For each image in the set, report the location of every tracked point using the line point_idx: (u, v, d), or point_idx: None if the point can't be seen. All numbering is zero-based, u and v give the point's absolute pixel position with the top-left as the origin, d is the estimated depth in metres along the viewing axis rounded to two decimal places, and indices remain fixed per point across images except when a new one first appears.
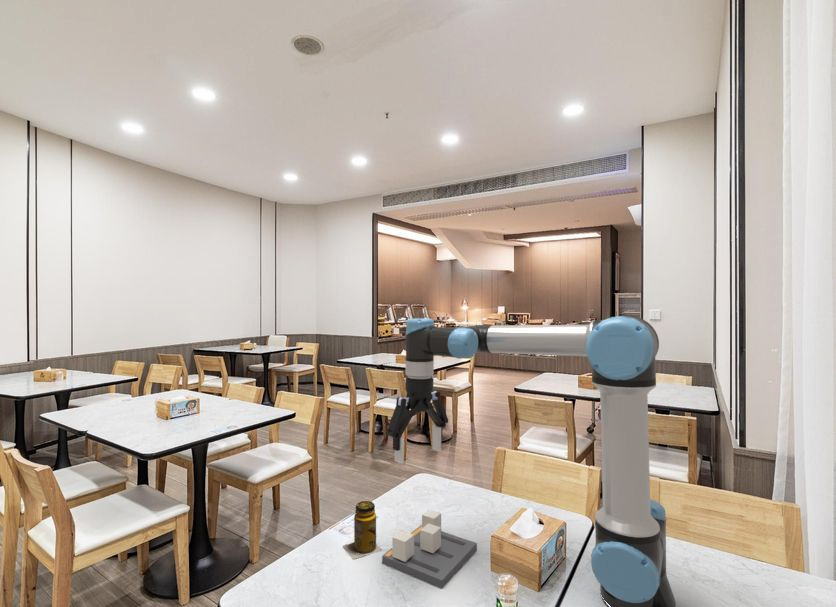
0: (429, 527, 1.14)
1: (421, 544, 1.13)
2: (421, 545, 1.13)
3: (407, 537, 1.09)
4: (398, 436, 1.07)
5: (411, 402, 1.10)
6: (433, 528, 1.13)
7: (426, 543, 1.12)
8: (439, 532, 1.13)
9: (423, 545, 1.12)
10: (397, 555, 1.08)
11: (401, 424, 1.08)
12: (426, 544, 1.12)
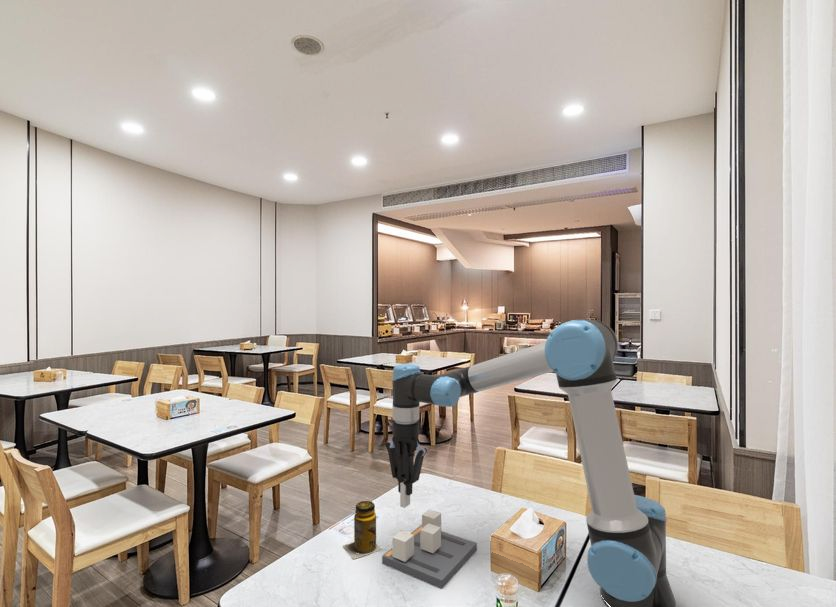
0: (429, 527, 1.14)
1: (421, 544, 1.13)
2: (421, 545, 1.13)
3: (407, 537, 1.09)
4: (398, 480, 1.18)
5: (394, 442, 1.19)
6: (433, 528, 1.13)
7: (426, 543, 1.12)
8: (439, 532, 1.13)
9: (423, 545, 1.12)
10: (397, 555, 1.08)
11: None
12: (426, 544, 1.12)
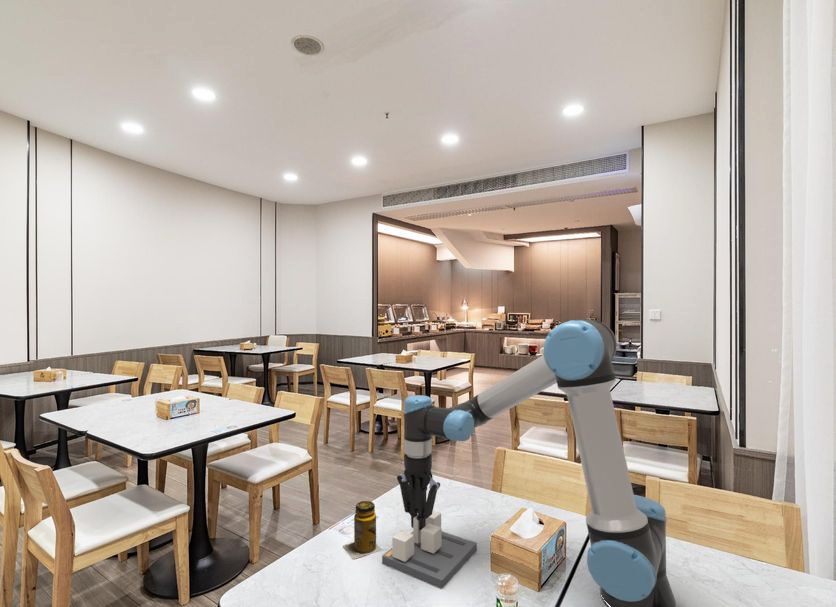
0: (430, 527, 1.14)
1: (422, 544, 1.12)
2: (422, 545, 1.12)
3: (407, 537, 1.09)
4: (411, 515, 1.15)
5: (406, 476, 1.17)
6: (434, 528, 1.13)
7: (427, 543, 1.12)
8: (440, 532, 1.13)
9: (424, 545, 1.12)
10: (397, 555, 1.08)
11: None
12: (427, 544, 1.12)
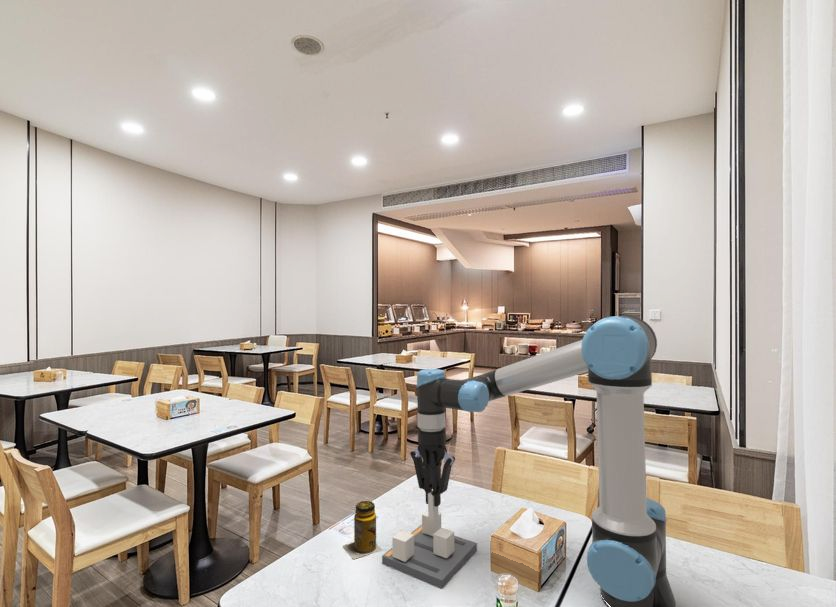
0: (442, 531, 1.12)
1: (434, 549, 1.10)
2: (434, 550, 1.10)
3: (407, 537, 1.09)
4: (425, 491, 1.13)
5: (419, 451, 1.14)
6: (446, 532, 1.11)
7: (440, 548, 1.09)
8: (452, 537, 1.11)
9: (436, 550, 1.10)
10: (397, 555, 1.08)
11: None
12: (439, 549, 1.09)
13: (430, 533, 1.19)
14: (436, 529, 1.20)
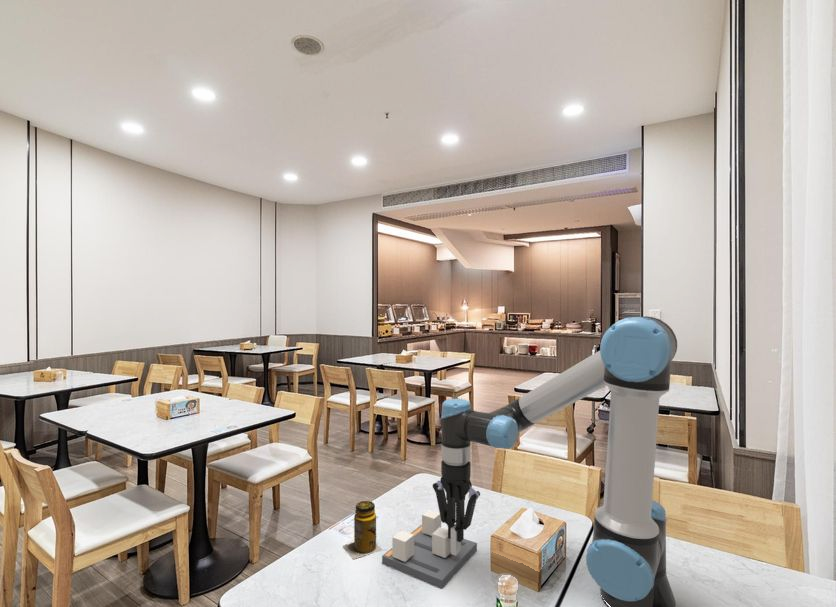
0: (441, 531, 1.12)
1: (433, 548, 1.11)
2: (433, 549, 1.11)
3: (407, 537, 1.09)
4: (448, 525, 1.09)
5: (443, 484, 1.10)
6: (445, 532, 1.11)
7: (438, 547, 1.10)
8: None
9: (435, 549, 1.10)
10: (397, 555, 1.08)
11: None
12: (438, 548, 1.10)
13: (430, 533, 1.19)
14: (436, 529, 1.20)
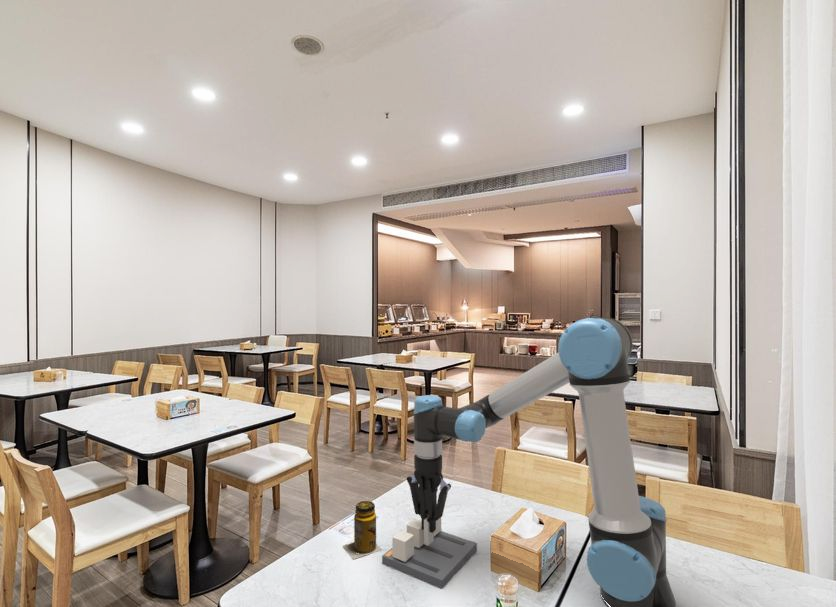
0: (415, 522, 1.16)
1: None
2: None
3: (407, 537, 1.09)
4: (421, 517, 1.14)
5: (416, 477, 1.15)
6: (419, 523, 1.16)
7: None
8: None
9: None
10: (397, 555, 1.08)
11: None
12: None
13: None
14: (436, 529, 1.20)
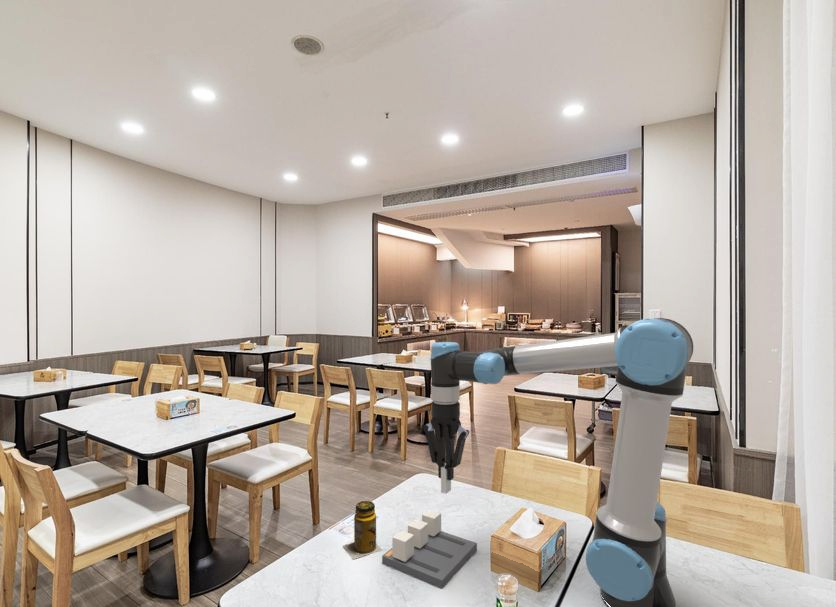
0: (416, 523, 1.16)
1: None
2: None
3: (407, 537, 1.09)
4: (438, 465, 1.11)
5: (433, 425, 1.12)
6: (420, 524, 1.16)
7: None
8: (426, 528, 1.15)
9: None
10: (397, 555, 1.08)
11: None
12: None
13: (430, 533, 1.19)
14: (436, 529, 1.20)
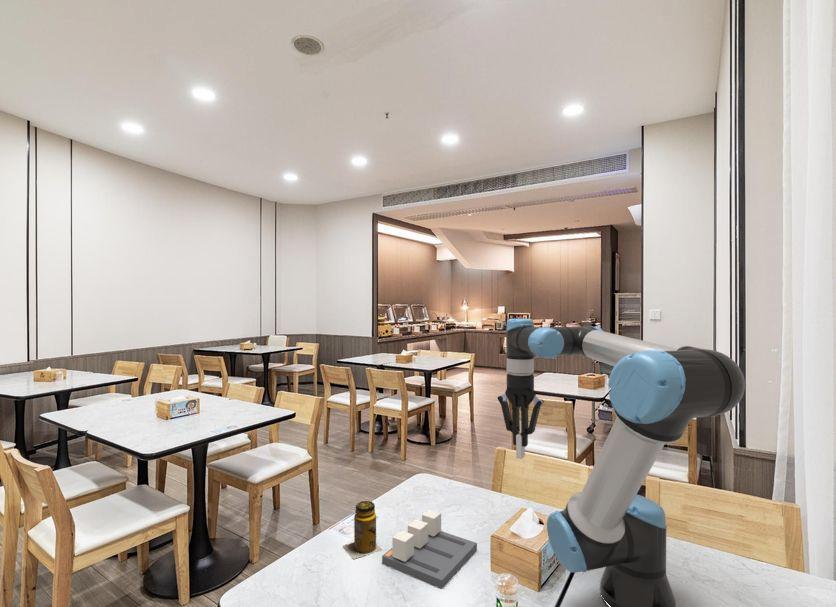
0: (416, 523, 1.16)
1: None
2: None
3: (407, 537, 1.09)
4: (513, 432, 1.19)
5: (508, 395, 1.20)
6: (420, 524, 1.16)
7: None
8: (426, 528, 1.15)
9: None
10: (397, 555, 1.08)
11: None
12: None
13: (430, 533, 1.19)
14: (436, 529, 1.20)
